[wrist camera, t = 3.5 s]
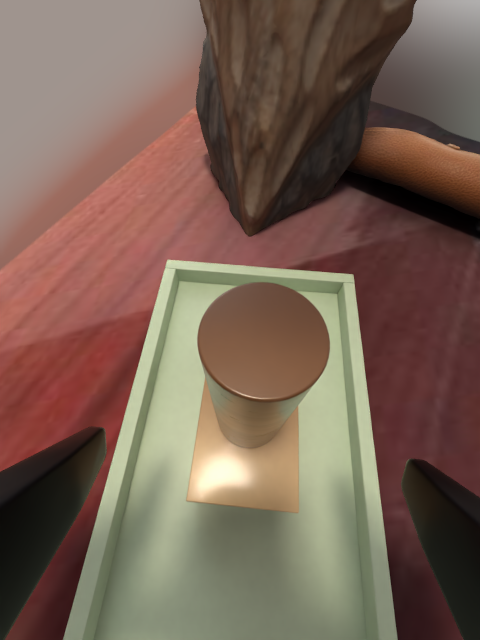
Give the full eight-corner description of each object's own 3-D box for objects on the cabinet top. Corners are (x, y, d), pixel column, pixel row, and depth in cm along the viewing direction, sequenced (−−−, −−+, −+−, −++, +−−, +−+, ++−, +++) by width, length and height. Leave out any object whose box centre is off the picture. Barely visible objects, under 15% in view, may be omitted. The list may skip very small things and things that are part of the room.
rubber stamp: (288, 509, 16) (398, 556, 5) (194, 498, 16) (110, 524, 5) (289, 365, 19) (353, 224, 9) (214, 358, 20) (189, 212, 9)
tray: (402, 875, 11) (437, 956, 9) (34, 821, 11) (-6, 888, 9) (344, 290, 23) (353, 274, 21) (172, 276, 24) (167, 259, 22)
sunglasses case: (536, 195, 28) (602, 149, 22) (497, 260, 28) (552, 232, 22) (359, 134, 33) (370, 80, 26) (327, 189, 33) (330, 149, 27)
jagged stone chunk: (198, 156, 31) (146, -255, 14) (304, 132, 34) (374, -249, 16) (242, 238, 26) (249, -286, 8) (366, 202, 28) (579, -269, 10)
